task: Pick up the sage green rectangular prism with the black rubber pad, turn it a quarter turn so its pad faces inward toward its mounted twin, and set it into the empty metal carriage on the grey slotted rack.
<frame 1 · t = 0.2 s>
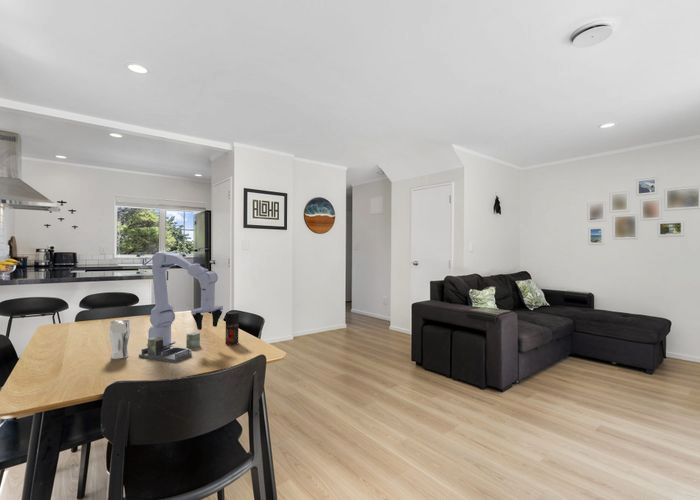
hand: (207, 327, 157), 10 cm above the table, tool pointing down, fingers open, 7 cm apart
sage green rectangular prism: (193, 346, 161), on the table
grey slotted rack: (165, 356, 146), on the table
beer glass: (119, 357, 144), on the table
deodorant: (231, 344, 167), on the table
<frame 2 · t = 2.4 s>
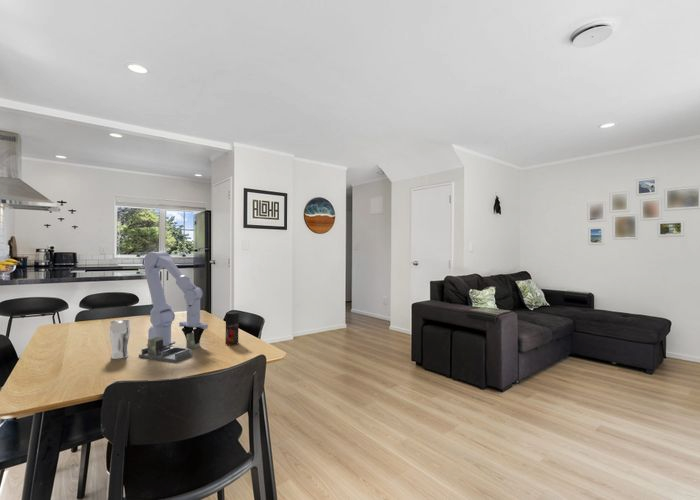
hand: (193, 342, 161), 2 cm above the table, tool pointing down, fingers closed on sage green rectangular prism, 4 cm apart
sage green rectangular prism: (193, 346, 161), on the table, touching gripper
everything else where it was.
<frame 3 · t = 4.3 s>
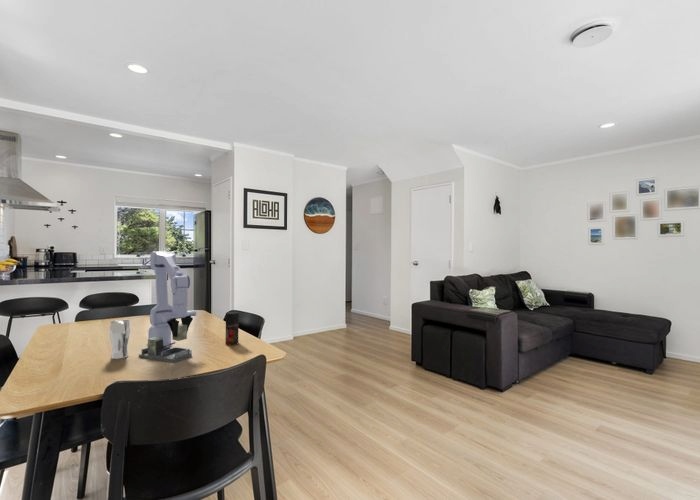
hand: (179, 335, 148), 9 cm above the table, tool pointing down, fingers closed on sage green rectangular prism, 4 cm apart
sage green rectangular prism: (179, 339, 148), point 7 cm above the table, touching gripper
everything else where it was.
when the fingers open (4 cm above the table, at t = 6.2 s): sage green rectangular prism drops 1 cm, resting on grey slotted rack.
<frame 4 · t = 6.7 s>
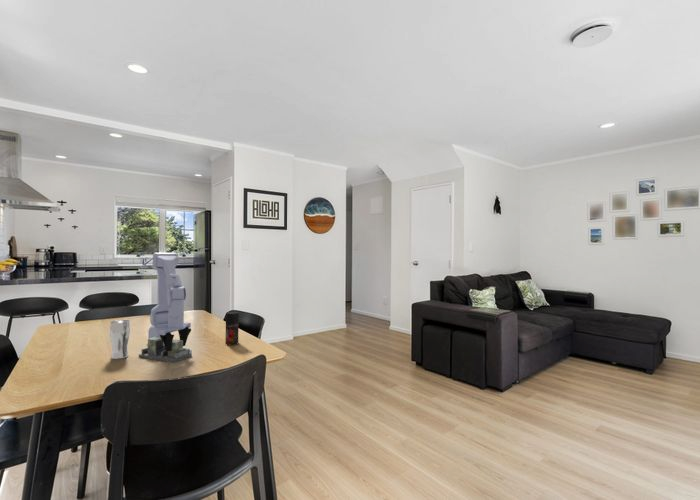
hand: (175, 348, 144), 4 cm above the table, tool pointing down, fingers open, 7 cm apart
sage green rectangular prism: (175, 355, 144), point 1 cm above the table, touching grey slotted rack
everything else where it was.
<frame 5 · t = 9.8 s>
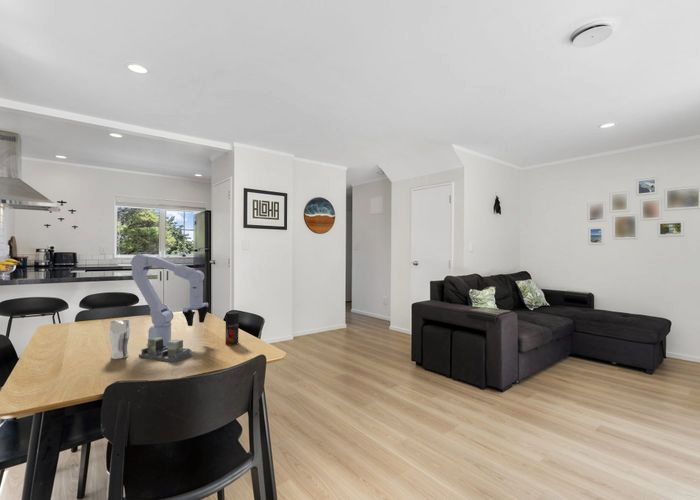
hand: (195, 324, 166), 9 cm above the table, tool pointing down, fingers open, 7 cm apart
nothing on the table moved.
at the end: sage green rectangular prism 0.1 cm from the target spot on the grey slotted rack, point 1.2 cm above the grey slotted rack's base; sage green rectangular prism tilted 0°; the gripper is holding nothing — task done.
